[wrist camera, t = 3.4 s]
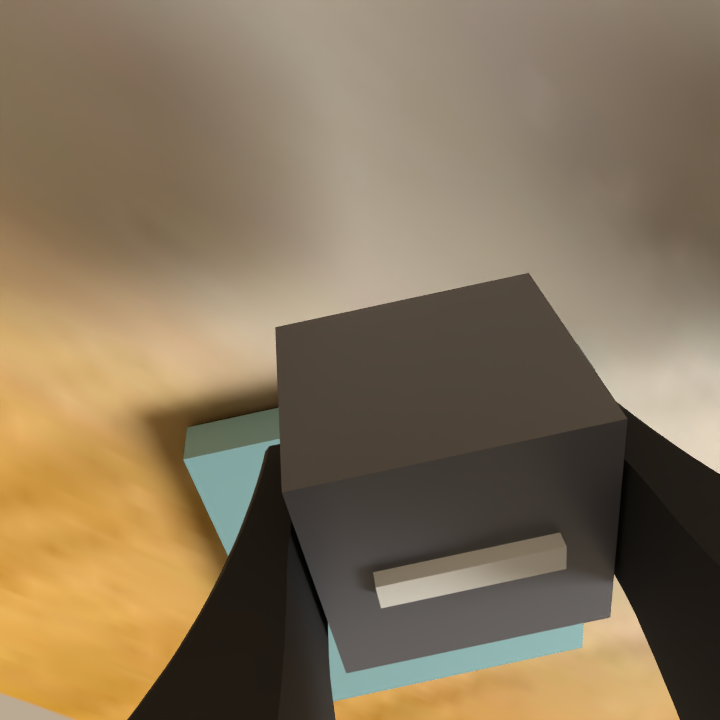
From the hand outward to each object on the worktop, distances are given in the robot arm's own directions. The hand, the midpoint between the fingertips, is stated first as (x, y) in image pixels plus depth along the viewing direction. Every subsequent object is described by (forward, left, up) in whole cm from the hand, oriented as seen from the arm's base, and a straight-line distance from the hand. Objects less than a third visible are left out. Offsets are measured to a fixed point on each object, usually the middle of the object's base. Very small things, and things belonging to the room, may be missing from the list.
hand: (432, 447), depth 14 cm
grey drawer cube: (0, 0, -2) cm, 2 cm away
